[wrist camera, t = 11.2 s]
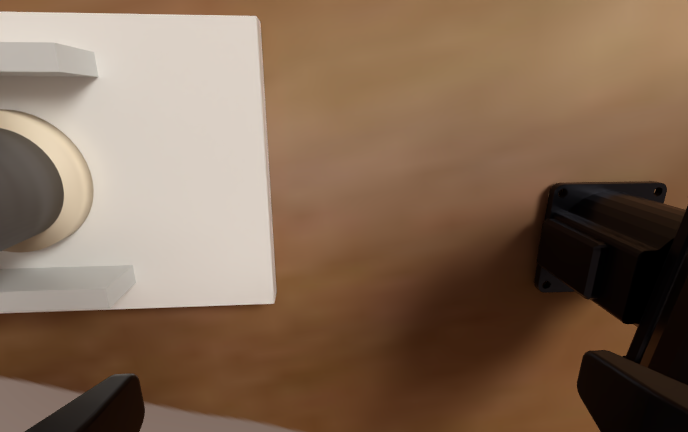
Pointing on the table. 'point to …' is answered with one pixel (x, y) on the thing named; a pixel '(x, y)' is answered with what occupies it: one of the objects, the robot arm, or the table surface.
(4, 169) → the disc
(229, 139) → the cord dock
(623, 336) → the table surface
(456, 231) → the table surface
